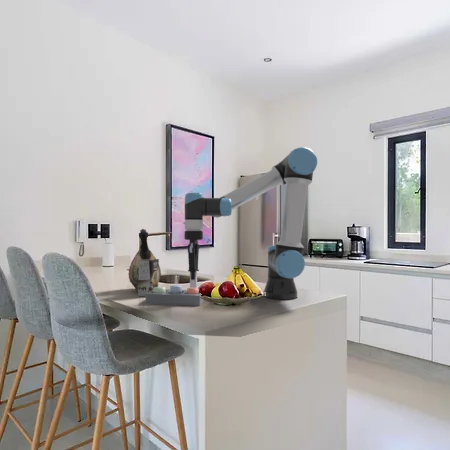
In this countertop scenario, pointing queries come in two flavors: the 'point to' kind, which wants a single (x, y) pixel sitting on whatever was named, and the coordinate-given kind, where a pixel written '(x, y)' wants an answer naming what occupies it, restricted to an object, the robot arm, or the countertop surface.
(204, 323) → the countertop surface
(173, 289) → the button slate
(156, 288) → the button sage
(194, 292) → the button coral
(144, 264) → the coffee box
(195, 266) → the robot arm
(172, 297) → the panel
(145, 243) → the ceramic jug
